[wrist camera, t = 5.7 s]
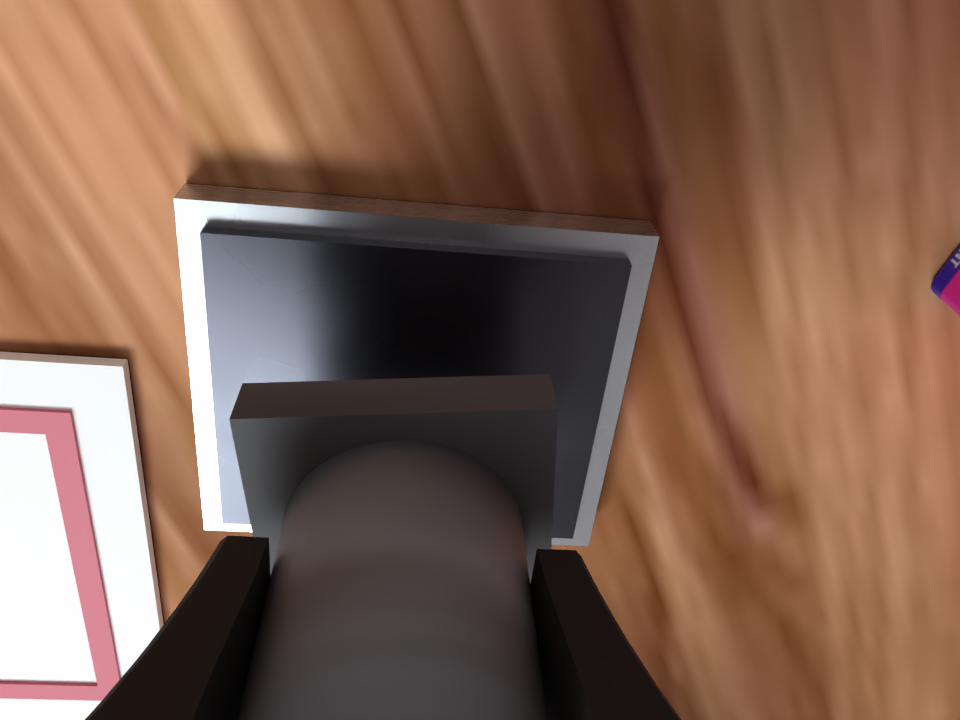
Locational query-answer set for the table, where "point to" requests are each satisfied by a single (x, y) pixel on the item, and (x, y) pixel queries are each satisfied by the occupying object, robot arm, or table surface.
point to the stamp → (398, 545)
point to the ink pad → (407, 314)
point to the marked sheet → (70, 535)
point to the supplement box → (949, 282)
